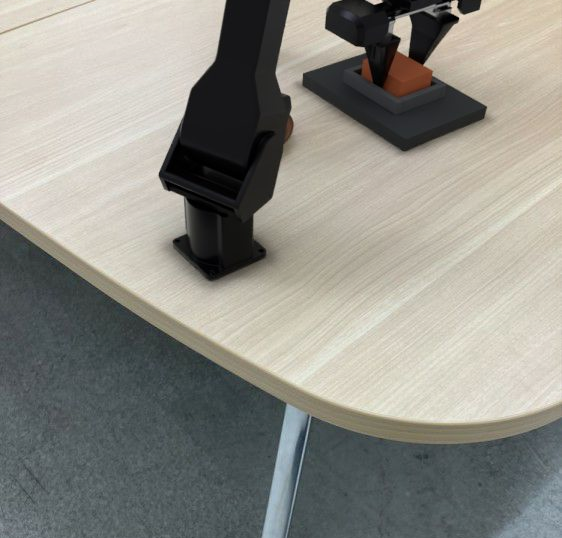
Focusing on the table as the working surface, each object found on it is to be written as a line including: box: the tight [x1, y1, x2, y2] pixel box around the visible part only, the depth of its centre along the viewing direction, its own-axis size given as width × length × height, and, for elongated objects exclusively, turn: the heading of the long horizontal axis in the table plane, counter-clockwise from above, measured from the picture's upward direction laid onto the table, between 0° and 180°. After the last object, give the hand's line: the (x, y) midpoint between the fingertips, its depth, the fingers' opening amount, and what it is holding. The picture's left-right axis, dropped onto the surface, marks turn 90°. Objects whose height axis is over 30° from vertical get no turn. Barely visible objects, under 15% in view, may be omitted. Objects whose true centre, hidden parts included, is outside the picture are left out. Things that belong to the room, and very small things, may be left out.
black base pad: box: [301, 52, 488, 152], centre depth 93 cm, size 18×13×3 cm
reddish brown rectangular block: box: [361, 50, 434, 99], centre depth 91 cm, size 6×5×3 cm
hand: (394, 81), depth 92 cm, fingers closed on reddish brown rectangular block, 5 cm apart
